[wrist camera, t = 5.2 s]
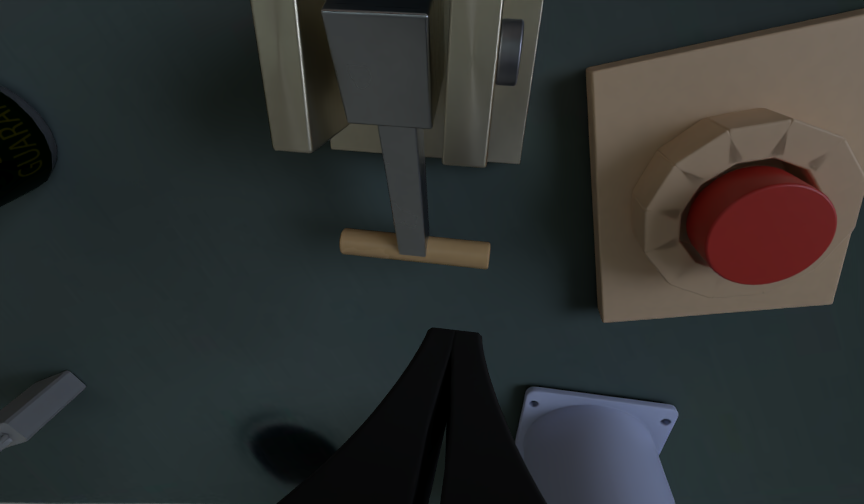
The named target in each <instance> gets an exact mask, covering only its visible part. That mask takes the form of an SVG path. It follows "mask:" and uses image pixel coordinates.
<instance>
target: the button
mask: <svg viewBox="0 0 864 504" xmlns="http://www.w3.org/2000/svg"><path fill="white" fill-rule="evenodd" d="M836 228H837V214H836V210H835V208H834V205H833V203H832V202H831V200H830V199H829V198H828V197H827V196H826V195H825V194H824V193H823V192H821V191H820V190H818V189H817V188H815V187H813V186H811V185H809V184H808V183H806V182H804V181H802V180H801V179H799V178H797V177H795V176H794V175H792V174H790V173H788V172H786V171H784V170H782V169H779V168H775V167H770V166H751V167H745V168H740V169H737V170H734V171H731V172H729V173H727V174H724V175H723V176H721V177H719V178H717V179H716V180H714V181H713V182H711V183H710V184H709V185H708V186H706V187H705V188H704V189H703V190H702V191H701V192H700V193H699V195H698V196H697V197H696V198H695V200H694V202H693V203H692V205H691V207H690V209H689V212H688V215H687V221H686V231H687V235H688V238H689V240H690V242H691V244H692V245H693V246H694V248H695V249H696V250H697V251H698V253H699V254H700V255H701V256H702V257H703V259H704V260H705V261H706V262H707V264H708V265H709V266H710V267H711V268H712V270H713V271H714V272H715V273H717V274H718V275H719V276H721V277H723V278H724V279H726V280H729V281H731V282H735V283H739V284H745V285H763V284H770V283H774V282H778V281H781V280H784V279H787V278H789V277H792V276H794V275H796V274H798V273H800V272H802V271H803V270H805V269H806V268H808V267H809V266H810V265H812V264H813V263H814V262H815V261H816V260H818V259H819V258H820V257H821V256H822V254H823V253H824V252H825V251H826V250H827V248H828V247H829V245H830V244H831V242H832V240H833V238H834V235H835V232H836Z"/></svg>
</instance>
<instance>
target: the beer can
mask: <svg viewBox="0 0 864 504" xmlns="http://www.w3.org/2000/svg"><path fill="white" fill-rule="evenodd" d="M56 161H57V145H56V143H55V140H54V137H53V135H52V132H51V130H50V129H49V127H48V126H47V124H46V123H45V121H44V120H43V118H42V117H41V116H40V114H39V113H38V112H36V111H35V110H34V109H33V108H32V107H31V106H30V105H29V104H28V103H27V102H26V101H25V100H24V99H22V98H21V97H19V96H18V95H16V94H15V93H13V92H12V91H10V90H9V89H7V88H5V87H2V86H0V207H1V206H3V205H5V204H7V203H9V202H11V201H13V200H15V199H17V198H18V197H20V196H22V195H24V194H26V193H28V192H30V191H32V190H34V189H36V188H37V187H39V186H40V185H42V184H43V183H44V182H46V181H47V180H48V178H49V176H50V174H51V172H52V170H53V168H54V166H55V164H56Z"/></svg>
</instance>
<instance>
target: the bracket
mask: <svg viewBox="0 0 864 504" xmlns="http://www.w3.org/2000/svg"><path fill="white" fill-rule="evenodd" d="M325 2H326V0H250V3H251V9H252V16H253V23H254V29H255V36H256V42H257V49H258V55H259V62H260V68H261V75H262V81H263V88H264V94H265V101H266V107H267V114H268V120H269V127H270V133H271V140H272V146H273V149H274V150H277V151H288V152H300V153H313V152H314V151H315V150H317V149H318V148H319V147H321V146H322V145H323V144H325V143H326V142H327V141H329V140H330V144H331V149H334V150H347V151H359V152H372V153H382V149H381V143H380V137H379V131H378V125H366V124H353V123H348V122H347V119H346V115H345V111H344V106H343V102H342V98H341V94H340V90H339V86H338V82H337V77H336V73H335V69H334V65H333V61H332V57H331V52H330V48H329V44H328V40H327V36H326V32H325V28H324V23H323V19H322V15H321V9H322V7H323V5H324V4H325ZM543 2H544V0H444V67H445V72H444V77H443V82H442V86H441V91H440V96H439V101H438V105H437V110H436V115H435V119H434V124H433V127H432V129H423V131H424V148H425V157H434V158H442V163H443V164H444V165H454V166H466V167H479V168H484V167H486V165H487V162H497V163H509V164H520V159H521V152H522V145H523V139H524V132H525V125H526V118H527V111H528V104H529V98H530V91H531V84H532V77H533V70H534V63H535V56H536V50H537V43H538V36H539V29H540V22H541V15H542V8H543Z"/></svg>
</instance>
